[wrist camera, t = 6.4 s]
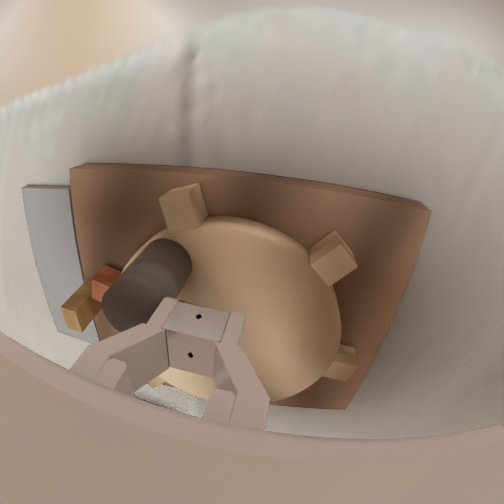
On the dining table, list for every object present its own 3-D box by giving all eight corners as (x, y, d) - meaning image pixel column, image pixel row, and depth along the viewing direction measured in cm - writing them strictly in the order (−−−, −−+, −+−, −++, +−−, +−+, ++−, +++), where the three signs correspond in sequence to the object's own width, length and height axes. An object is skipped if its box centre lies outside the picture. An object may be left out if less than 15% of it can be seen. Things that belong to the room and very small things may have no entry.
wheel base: (419, 202, 14) (460, 235, 10) (343, 394, 21) (348, 441, 17) (84, 163, 15) (33, 183, 11) (117, 357, 22) (95, 395, 18)
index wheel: (297, 125, 11) (305, 132, 6) (387, 364, 17) (405, 434, 12) (66, 257, 16) (11, 306, 11) (194, 410, 21) (177, 466, 16)
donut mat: (74, 186, 15) (68, 189, 15) (104, 342, 21) (101, 346, 21) (27, 185, 16) (21, 187, 15) (61, 327, 22) (57, 331, 21)
